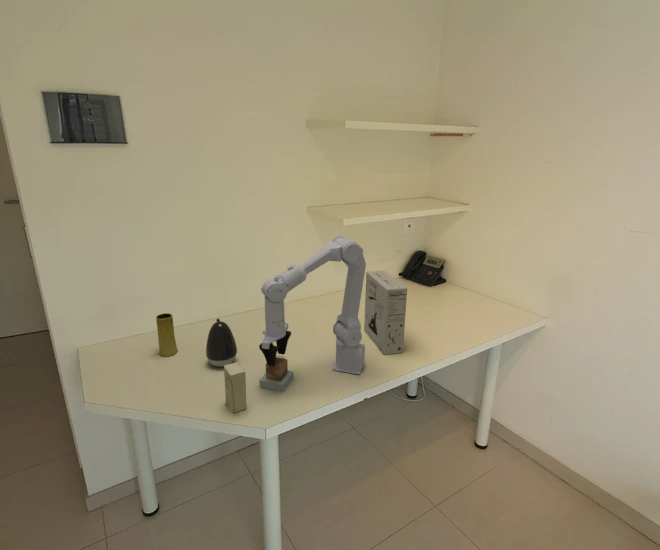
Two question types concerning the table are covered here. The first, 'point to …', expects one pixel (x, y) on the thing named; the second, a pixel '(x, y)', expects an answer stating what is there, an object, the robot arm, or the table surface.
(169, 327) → the vase
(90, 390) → the table surface
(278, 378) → the walnut cube
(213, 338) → the black egg shape
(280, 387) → the slate plinth
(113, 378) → the table surface
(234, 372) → the skincare box
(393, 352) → the product box
